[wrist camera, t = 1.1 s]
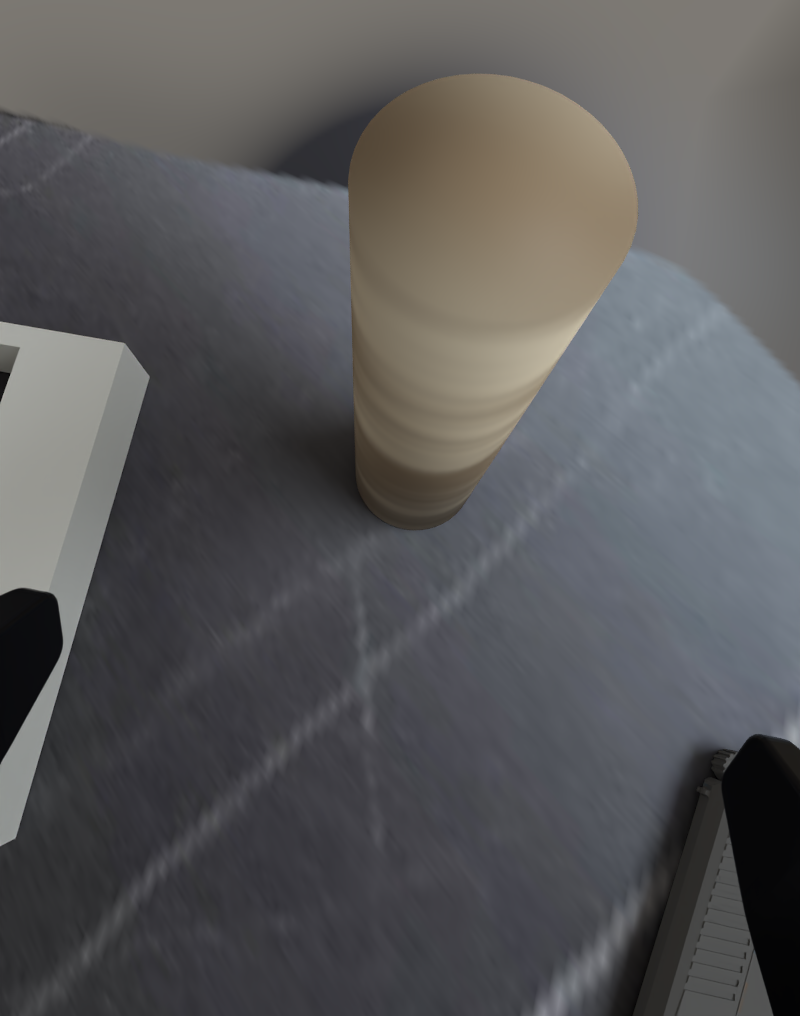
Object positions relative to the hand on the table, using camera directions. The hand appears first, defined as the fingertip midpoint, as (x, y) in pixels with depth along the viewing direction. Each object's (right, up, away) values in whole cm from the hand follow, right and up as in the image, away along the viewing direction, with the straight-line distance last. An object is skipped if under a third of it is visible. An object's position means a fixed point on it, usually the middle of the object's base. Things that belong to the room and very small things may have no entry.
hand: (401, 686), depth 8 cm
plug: (+1, +4, +15) cm, 15 cm away
